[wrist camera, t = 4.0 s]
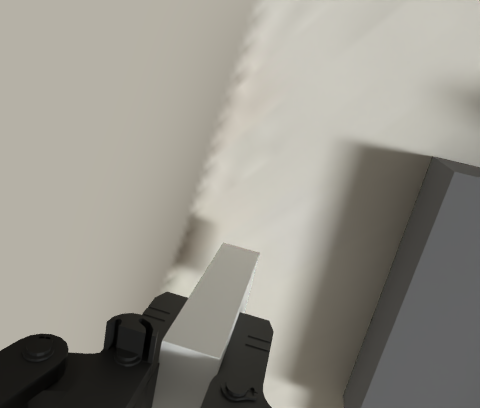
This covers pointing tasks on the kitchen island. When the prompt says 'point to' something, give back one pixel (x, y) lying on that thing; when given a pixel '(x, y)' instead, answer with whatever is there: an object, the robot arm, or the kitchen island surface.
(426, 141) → the kitchen island surface
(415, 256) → the dark grey block
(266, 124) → the kitchen island surface
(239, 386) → the robot arm
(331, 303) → the kitchen island surface
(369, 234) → the kitchen island surface
